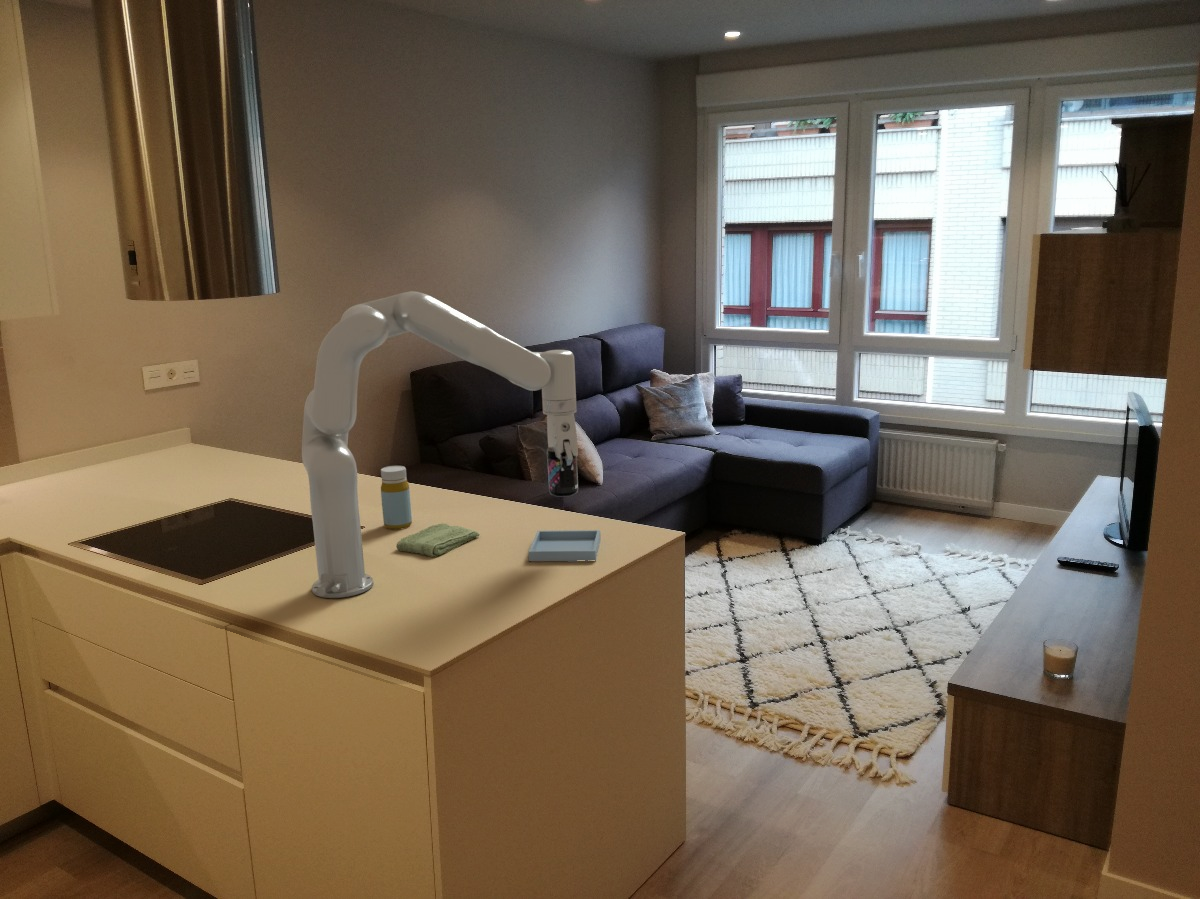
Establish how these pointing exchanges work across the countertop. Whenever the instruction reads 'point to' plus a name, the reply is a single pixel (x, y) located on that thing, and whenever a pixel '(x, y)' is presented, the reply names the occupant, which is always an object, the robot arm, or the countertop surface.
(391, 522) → the bottle
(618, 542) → the countertop surface
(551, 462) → the supplement container
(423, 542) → the washcloth
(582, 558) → the tray
